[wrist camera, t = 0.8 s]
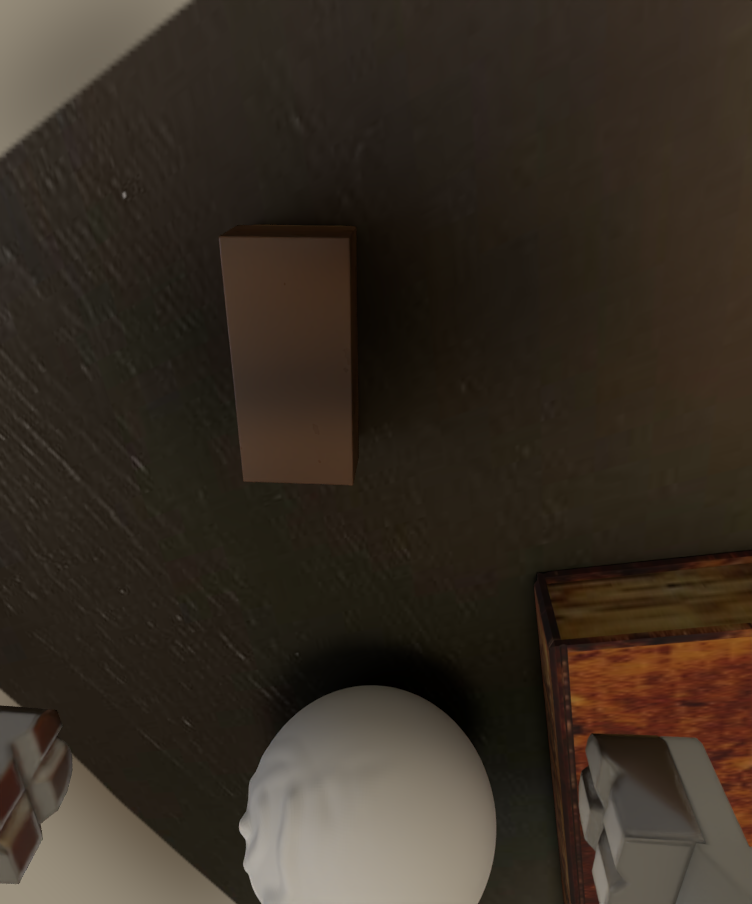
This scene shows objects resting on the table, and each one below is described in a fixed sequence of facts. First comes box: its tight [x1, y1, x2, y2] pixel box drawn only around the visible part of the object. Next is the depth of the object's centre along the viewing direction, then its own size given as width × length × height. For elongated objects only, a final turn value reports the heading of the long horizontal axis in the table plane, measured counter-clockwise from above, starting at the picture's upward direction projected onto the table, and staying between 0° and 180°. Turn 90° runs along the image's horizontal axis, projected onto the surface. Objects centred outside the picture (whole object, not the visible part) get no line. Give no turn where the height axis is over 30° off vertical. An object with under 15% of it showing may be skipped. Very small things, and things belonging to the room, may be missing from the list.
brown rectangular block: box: [219, 225, 359, 485], centre depth 26 cm, size 9×4×4 cm, turn 0°
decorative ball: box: [239, 685, 496, 904], centre depth 32 cm, size 12×12×12 cm
